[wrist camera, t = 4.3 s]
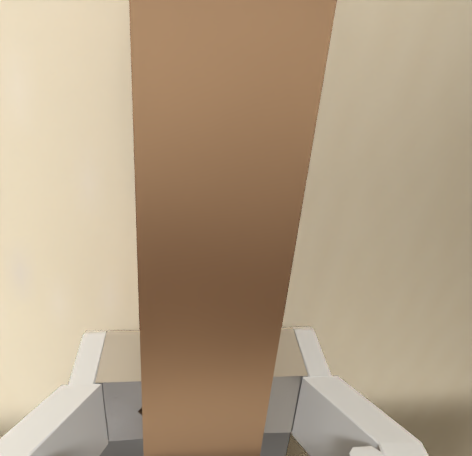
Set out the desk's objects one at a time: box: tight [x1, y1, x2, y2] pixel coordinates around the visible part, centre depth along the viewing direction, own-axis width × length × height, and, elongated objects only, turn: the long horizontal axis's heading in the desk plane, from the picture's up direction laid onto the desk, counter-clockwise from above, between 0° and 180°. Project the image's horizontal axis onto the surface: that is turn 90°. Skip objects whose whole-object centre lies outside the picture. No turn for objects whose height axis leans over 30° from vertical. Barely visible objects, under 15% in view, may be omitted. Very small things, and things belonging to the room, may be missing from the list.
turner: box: [100, 0, 337, 456], centre depth 11 cm, size 22×6×4 cm, turn 176°
